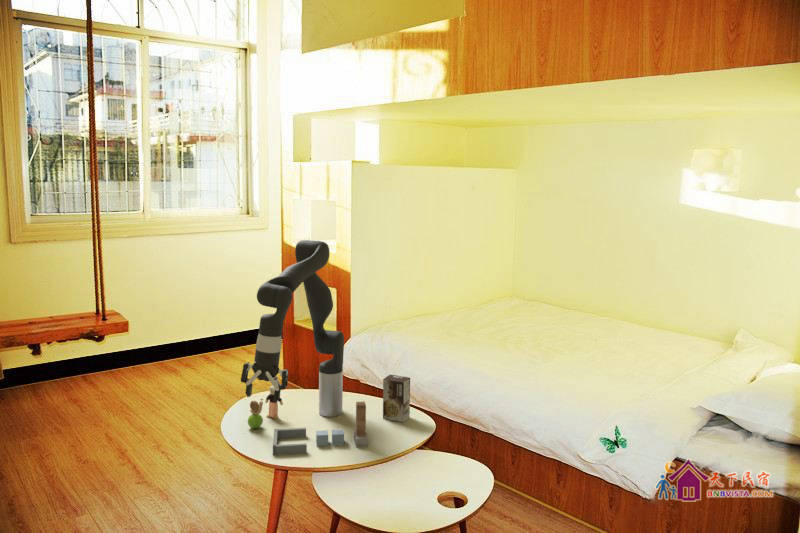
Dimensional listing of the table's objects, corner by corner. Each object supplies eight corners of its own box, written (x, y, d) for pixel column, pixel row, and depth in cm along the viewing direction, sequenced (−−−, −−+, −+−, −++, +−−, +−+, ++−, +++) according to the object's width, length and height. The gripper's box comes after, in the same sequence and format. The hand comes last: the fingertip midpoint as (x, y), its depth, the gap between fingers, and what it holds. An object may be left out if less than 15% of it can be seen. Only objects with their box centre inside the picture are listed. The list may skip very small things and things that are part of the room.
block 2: (331, 440, 218) (331, 430, 218) (343, 440, 219) (343, 429, 218) (332, 445, 214) (332, 434, 214) (344, 445, 215) (344, 434, 214)
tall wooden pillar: (353, 436, 222) (354, 399, 220) (364, 436, 223) (365, 398, 221) (356, 447, 213) (356, 408, 211) (367, 446, 214) (368, 408, 212)
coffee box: (410, 417, 241) (411, 377, 239) (403, 422, 235) (404, 382, 233) (389, 412, 245) (389, 373, 243) (382, 418, 239) (382, 378, 237)
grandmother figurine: (262, 418, 237) (262, 386, 235) (266, 414, 241) (265, 383, 239) (281, 419, 236) (281, 388, 234) (285, 416, 239) (284, 384, 238)
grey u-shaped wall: (274, 437, 220) (274, 429, 219) (306, 435, 222) (305, 427, 221) (272, 455, 206) (272, 446, 205) (306, 453, 208) (306, 444, 207)
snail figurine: (257, 432, 223) (256, 401, 222) (244, 428, 227) (244, 397, 225) (267, 427, 228) (267, 396, 226) (255, 423, 231) (255, 393, 230)
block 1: (316, 441, 217) (316, 430, 217) (327, 441, 218) (327, 430, 217) (316, 446, 213) (316, 435, 213) (328, 445, 214) (328, 434, 213)
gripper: (294, 349, 193) (287, 399, 195) (250, 341, 194) (244, 391, 196) (287, 355, 185) (280, 406, 187) (241, 347, 187) (235, 398, 189)
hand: (262, 398), depth 192 cm, fingers open, 8 cm apart
